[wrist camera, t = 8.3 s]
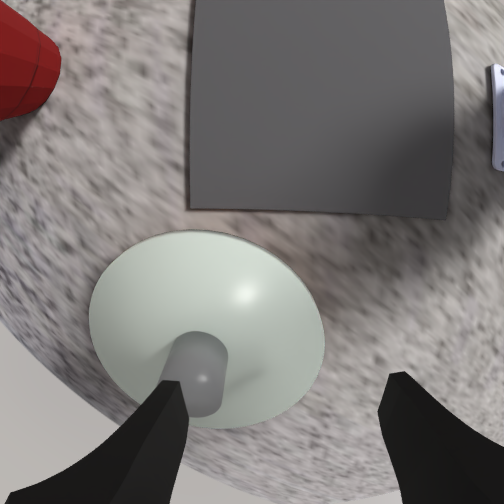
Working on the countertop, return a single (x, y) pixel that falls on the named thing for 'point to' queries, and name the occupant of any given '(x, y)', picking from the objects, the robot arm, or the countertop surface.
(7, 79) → the plastic cup
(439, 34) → the mat
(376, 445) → the countertop surface
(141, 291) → the lid
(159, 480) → the robot arm
